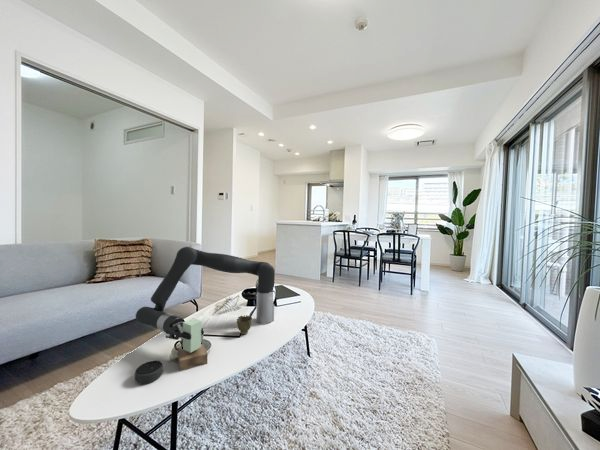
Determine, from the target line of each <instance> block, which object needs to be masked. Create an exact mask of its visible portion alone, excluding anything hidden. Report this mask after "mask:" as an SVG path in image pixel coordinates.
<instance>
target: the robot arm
mask: <svg viewBox="0 0 600 450" xmlns="http://www.w3.org/2000/svg"><path fill="white" fill-rule="evenodd" d="M193 265H195V266H202V267H206V268H209V269H212V270H214V271H219V272H222V273H229V274H248V275H249V274H250V275H255V276H257V277H258V278H257V279H258V281H257V286H256V315H255V317H256V322H257V324H261V325H266V324H267V325H268V324H271V323H272V322H273V321H275V304H274V287H275V278H276V277H275V275H276V274H275V272H276V271H275V268H274V266H272V265H271V263H269V262H266V261H256V260H250V259H249V260H248V259H245V258H243V257H239V256H234V255H229V254H224V253H216V252H215V253H214V252H208V251H202V250H199V249H196V248H193V247H191V246H184V247H183V246H182V247H181V248H180V249H179V250H178V251H177V253H176V256H175V259H174V260H173V264H172V265H171V267H170V269H169V271H168V272H167V274H165V277H164V278H163V280H161V282H160V283H159V285H158V286H157V288H156V290H155V291H154V292H153V294H152V296H151V297H150V302H152V303H153V304H155V306H154V307H150V306H141V307H140V308H139V309H138V310H136V312H135V319H136V321H137V322H138V323H140V324H142V325H143V324H144V325H147V326H152V327H154V328H155V329H158V330H160V331H161V332H163V333H165V338H167V339H171V340H180V339H183V338H185V339H188V340H190V339H191V334H190V333H187V332H184V331H183V322H185V321H186V320H184V318H183V317H181V316H178V315H175V314H172V313H168V312H166V311H164V310H165V307H166V304H167V301H168V300H169V299H170V297H171V295H172V294H173V292H174V291H175V289H176V287H177V285H178V283H179V282H180V280H181V278H182V276H183V275H184V273H186V271H187V270H188V269H189V267H190V266H193ZM202 334H204V328H203V327H201V335H202Z"/></svg>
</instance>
